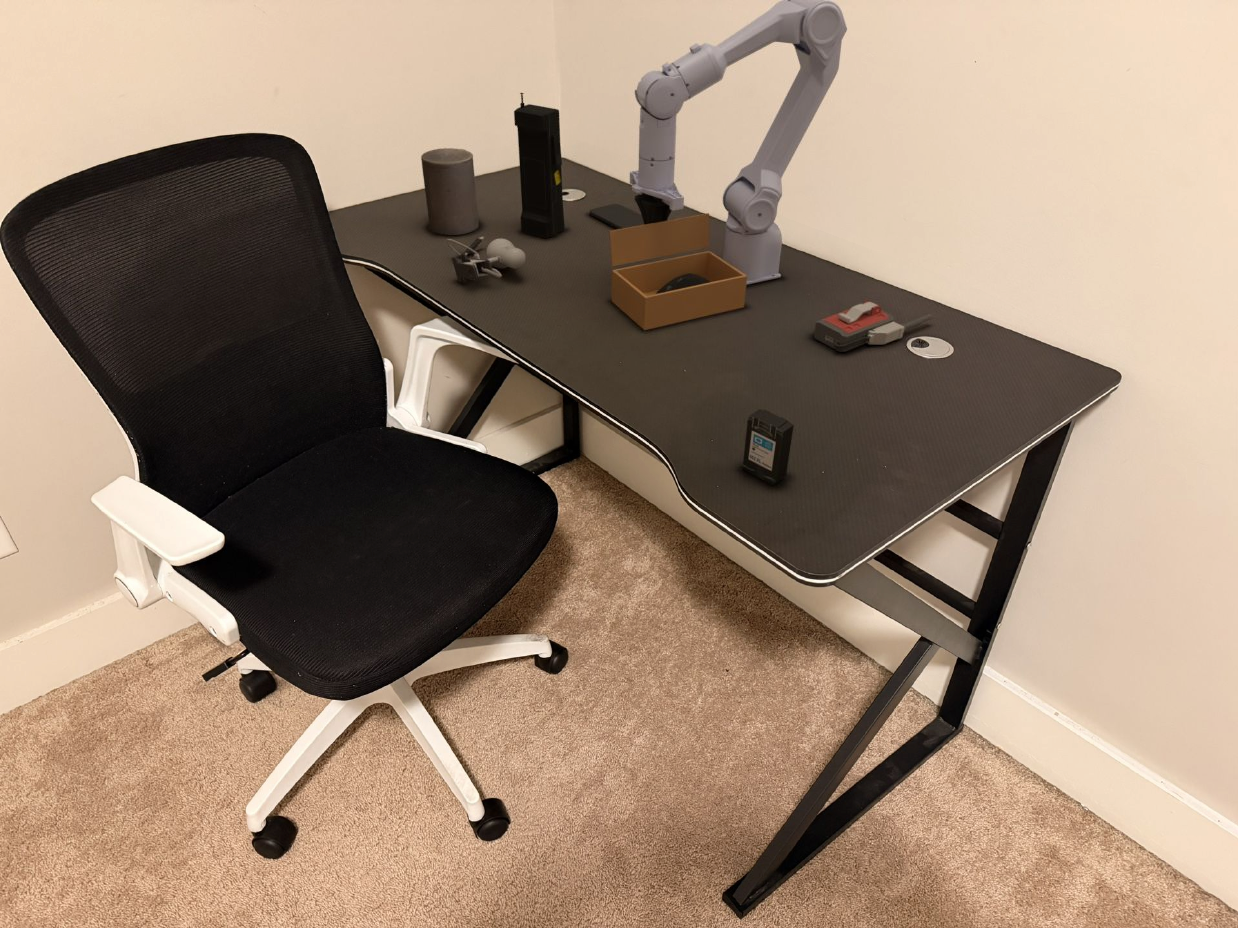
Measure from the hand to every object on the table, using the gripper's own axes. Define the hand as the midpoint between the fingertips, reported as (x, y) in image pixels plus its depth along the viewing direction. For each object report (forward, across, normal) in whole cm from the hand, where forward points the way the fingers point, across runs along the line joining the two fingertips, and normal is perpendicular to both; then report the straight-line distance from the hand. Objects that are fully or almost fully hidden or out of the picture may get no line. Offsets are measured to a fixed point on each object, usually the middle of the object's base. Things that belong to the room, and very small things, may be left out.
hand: (654, 239), depth 144 cm
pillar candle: (+8, -40, -22) cm, 47 cm away
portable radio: (+8, -30, -7) cm, 32 cm away
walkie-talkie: (+8, +30, +22) cm, 38 cm away
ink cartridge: (+8, +54, -14) cm, 56 cm away
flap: (-1, +2, 0) cm, 3 cm away
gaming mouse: (+8, +9, 0) cm, 12 cm away
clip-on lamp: (+8, -18, -24) cm, 31 cm away
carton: (+8, +8, 0) cm, 12 cm away
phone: (+8, -28, +9) cm, 31 cm away
